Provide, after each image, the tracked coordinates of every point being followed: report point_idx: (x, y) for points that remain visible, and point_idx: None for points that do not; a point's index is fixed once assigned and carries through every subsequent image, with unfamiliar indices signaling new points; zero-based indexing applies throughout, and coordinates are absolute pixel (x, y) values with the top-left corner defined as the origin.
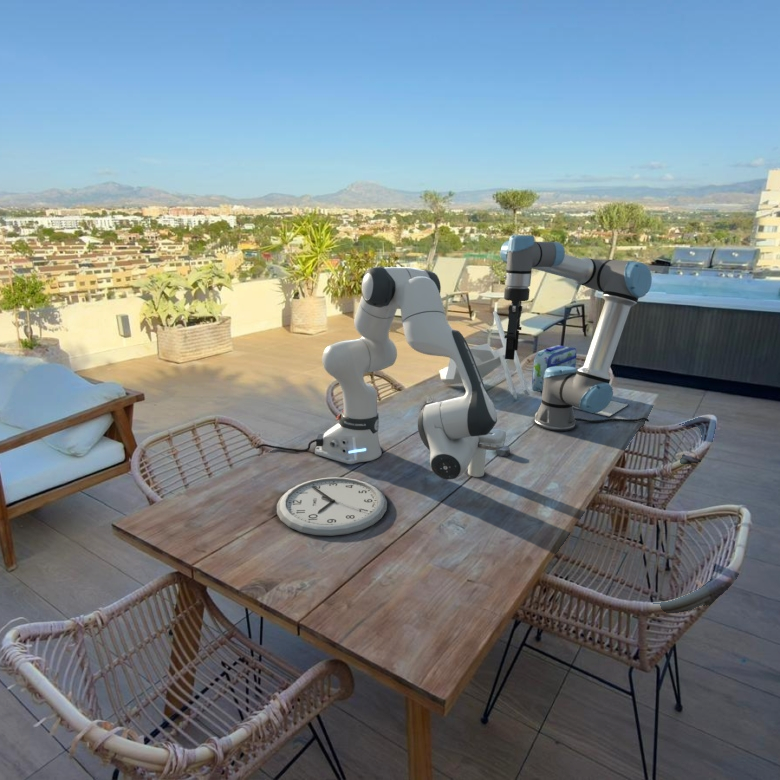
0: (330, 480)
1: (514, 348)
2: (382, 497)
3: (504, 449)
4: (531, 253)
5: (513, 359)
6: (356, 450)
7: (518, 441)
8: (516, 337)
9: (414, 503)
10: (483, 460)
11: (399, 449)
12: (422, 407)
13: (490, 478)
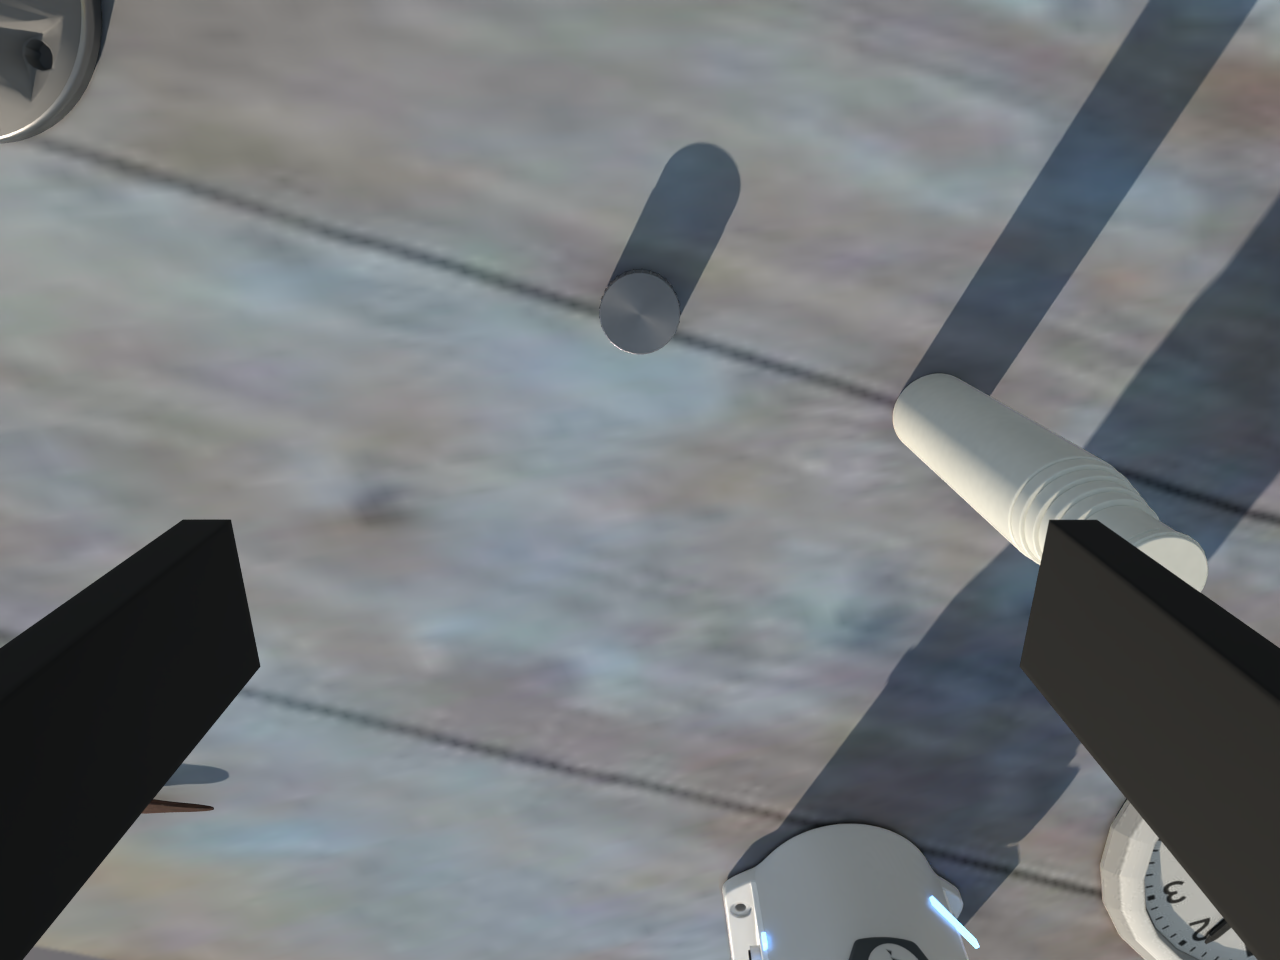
0: (1146, 910)
1: (1267, 650)
2: None
3: (663, 302)
4: None
5: (1099, 528)
6: (960, 927)
7: (414, 230)
8: (41, 731)
9: (1262, 604)
10: (997, 400)
11: (752, 774)
12: (179, 811)
13: (974, 336)
